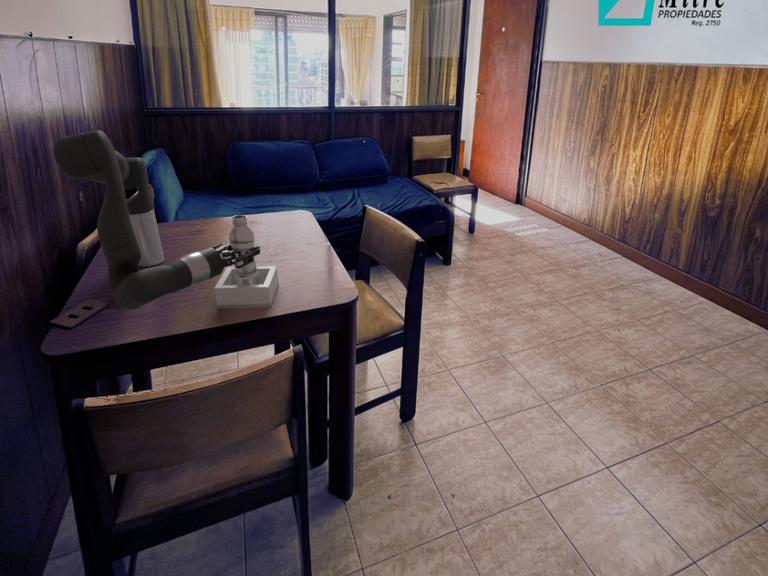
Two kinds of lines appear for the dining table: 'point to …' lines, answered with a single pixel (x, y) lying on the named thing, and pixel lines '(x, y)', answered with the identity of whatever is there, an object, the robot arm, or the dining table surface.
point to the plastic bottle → (242, 240)
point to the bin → (247, 290)
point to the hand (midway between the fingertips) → (249, 247)
